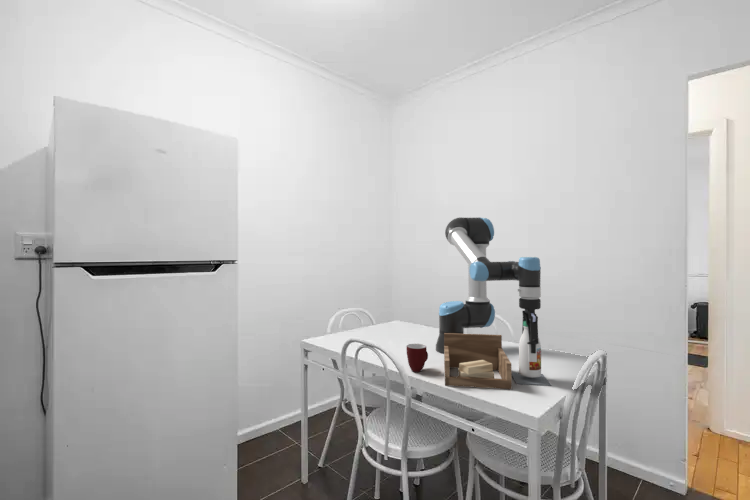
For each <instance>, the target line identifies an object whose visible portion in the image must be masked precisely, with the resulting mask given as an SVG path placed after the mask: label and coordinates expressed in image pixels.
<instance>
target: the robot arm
mask: <svg viewBox="0 0 750 500" xmlns="http://www.w3.org/2000/svg"><path fill="white" fill-rule="evenodd" d="M444 234H445V239H446V240H447V241H448V243H449V244H450V245H452V246H454V247H455V248H456V250H457V251H458V252H459V254H460V255H461V256H462V258H463V259H464V260H465V261H466V263H467V264H468V265H467V266H468V267H467V269H468V278H467V279H468V280H467V281H468V297H467V298H465V303H464V302H463V301H462V300H461V301H460V300H455V301H454V300H453V301H446V302H443V303H441V304H440V305H439V310H438V311H439V312H438V316H439V318H438V319H439V320H438V323H439V326H438V328H439V329H438V330H439V331H438V333H439V334H438V337H437V340H436V343H435V350H436V351H437V352H439V353H441V354H444V333H459V334H465V331H464V329H471V328H472V329H476V328H477V329H478V328H480V329H482V328H488V327H490V326H491V325H492V324H493V323H494V321H495V317H496V311H495V306H494V305H493V304H492V303H491V302H490V301H491V300H490V299H489V298H488V297H487V282H488V281H489V282H492V281H518V289H517V292H518V294H519V295H518V297H519V298H518V307H519V308H520V309H523V310H522V311H521V312H522V323H523V322H524V321H526V325H527V326H528V333H529V342H528V343H527V344H528V348H529V362H537V344H538V343H539V342H538V338H539V326H538V325H539V324H538V320H539V319H538V318H539V317H538V315H537V313H536V310H539V309H541V307H542V306H541V305H542V304H541V303H542V301H541V299H540V298H541V296H542V295H541V294H542V291H541V290H542V289H541V259H540V258H539V257H536V256H534V257H533V256H522V257H519V258H518V261H514V260H512V261H511V260H508V261H491V260H490V259H489V258H487V248H488V247H489V246H490V242H491V241H492V240H493V239H494V236H495V228H494V225H493V222H492V221H491V220H490V219H489V218H486V217H456V218H454V219H452V220H450V221H449V222H448V223H447V225H446V227H445V233H444ZM523 331H524V327H523V324H522V331H521V335H522V334H523Z"/></svg>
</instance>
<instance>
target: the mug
mask: <svg viewBox="0 0 750 500" xmlns="http://www.w3.org/2000/svg"><path fill="white" fill-rule="evenodd" d="M406 356H407V364H408V366H409V368H410V370H411V371H412V372H414V373H420V372H422V370H423V368H424V367H425V364H426V361H427V360H428V358H429V353H428V351H427V345H426V344H424V343H423V344H422V343H408V344H407V345H406Z"/></svg>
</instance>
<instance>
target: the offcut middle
mask: <svg viewBox="0 0 750 500" xmlns="http://www.w3.org/2000/svg"><path fill="white" fill-rule="evenodd" d="M458 375H459V377H478V378H495V372H494V370H493V371H487V372H481V373H475V374H469V375H468V374H466V373H464V372H462V371H460V370H459V368H457V376H458Z"/></svg>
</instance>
